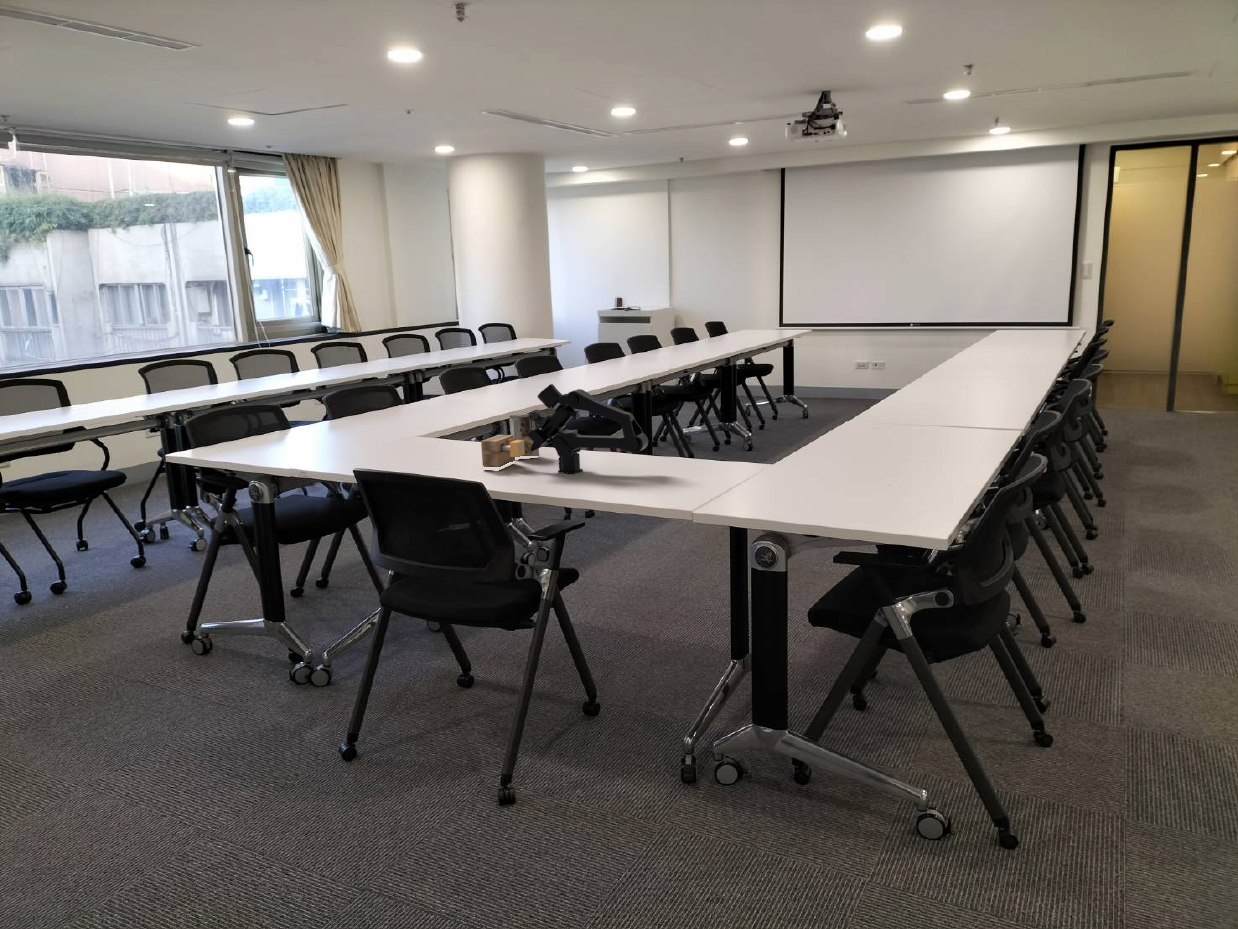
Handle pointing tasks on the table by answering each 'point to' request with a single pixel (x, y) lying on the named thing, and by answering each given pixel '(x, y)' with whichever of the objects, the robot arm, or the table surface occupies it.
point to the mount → (496, 451)
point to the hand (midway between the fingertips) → (531, 450)
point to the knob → (515, 448)
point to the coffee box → (523, 432)
